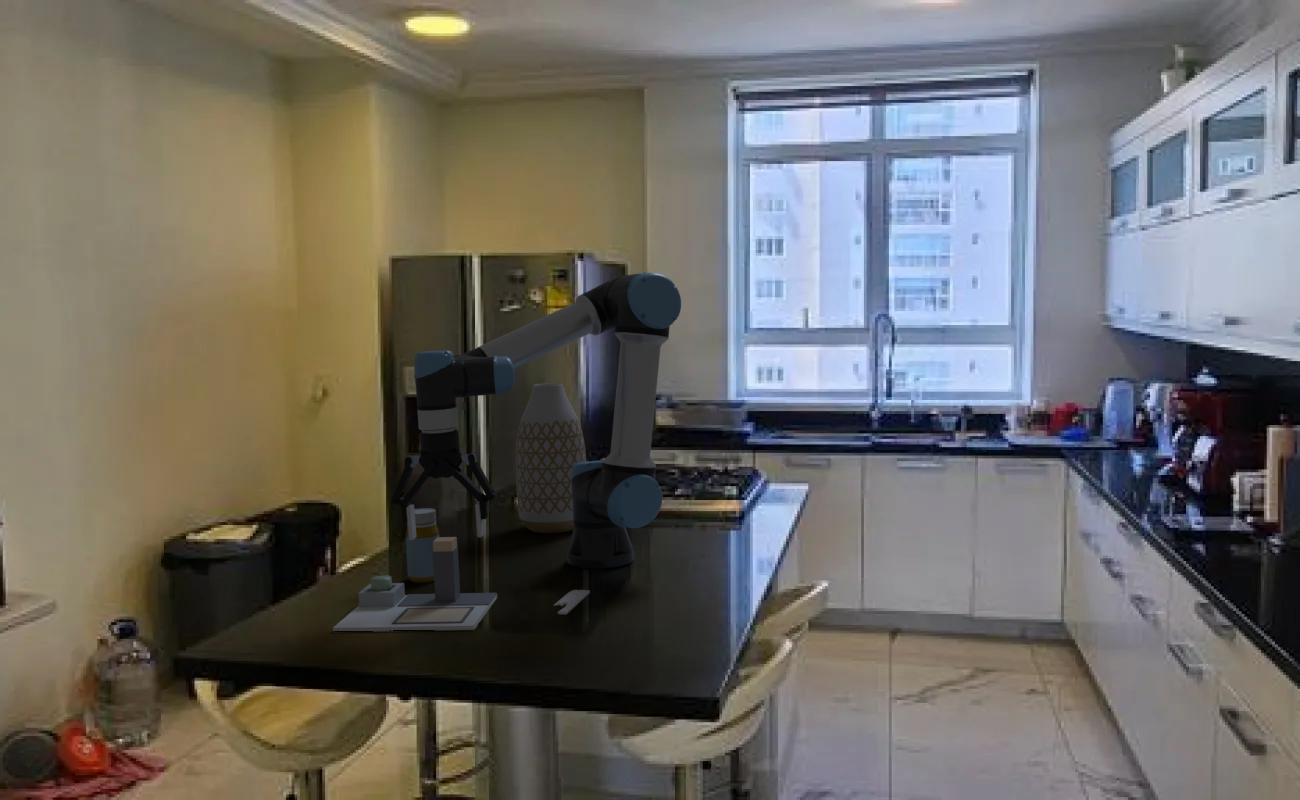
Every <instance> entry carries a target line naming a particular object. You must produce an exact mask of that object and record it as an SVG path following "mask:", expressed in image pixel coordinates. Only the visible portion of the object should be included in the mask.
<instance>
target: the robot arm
mask: <svg viewBox="0 0 1300 800" xmlns="http://www.w3.org/2000/svg"><path fill="white" fill-rule="evenodd" d="M681 298H682V297H681V294H680V291H679V289H678V287H677V286H676V285H675V283H674V281H673V280H671V279H670V278H669V277H667V276H665V275H663V274H661V273H656V272H655V273H654V272H641V273H635V274H634V273H633V274H624V275H623V274H621V275H617V276H616V277H612V278H611V279H608V280H607V281H605V282H603V283H601V284H600V285H598V286H596V287H593V288H592V289H590V290H588V291H586V292H583V293H582V294H579V295H578V296H577V297H576V299H575V302H573V303H571V304H569V305H567V306H565V307H562V308H560V309H559V310H555V311H553V312H552V313H549V314H547V315H545V316H543V317H541V318H539V319H536V320H534V321H532V322H530V323H527V324H526V325H523V326H520V327H518V328H516V329H515V330H513V331H510V332H508V333H506V334H504V335H502V336H499V337H497V338H495V339H492V340H491V341H490V340H489V341H488V342H486V343H484V344H482V345H479V346H478V347H475V348H474V349H471V350H469V351H467V352H464V353H462V354H453V352H452V351H451V350H448V349H447V350H445V349H444V350H429V351H420V352H417V353H416V354H415V356H414V363H413V364H414V365H413V366H414V368H413V369H414V372H413V373H414V375H413V378H414V383H415V392H416V393H415V394H416V402H417V403H416V404H417V421H418V430H420V431H421V432H420V433H419V434H418V435H419V448H420V456H414V455H413V454H410V455H408V456H406V457H405V458H404V468H403V471H402V473H401V476H400V478H399V481H398V483H397V486H396V488H395V490H394V492H393V495H392V498H391V499H390V500H391V501H390V502H391V504H393V505H398V506H400V508H401V518H402V519H401V520H402V522H403V524H404V523H406V524H407V523H408V526H407V527H408V535H409V540H413V539H414V538H416V524H415V511H414V509H415V504H411V502H412V501H413V499H414V498H415V497H416V496H417V494H418V493H419V491H420V490H421V489H422V487H423V486H424V484H426V482H427V481H428V479H429V478H430V477H431V478H432V479H439V478H443V479H449V478H451V477H453V478H454V479H455V480H457V481H458V482H459V483H460V484H461V485H462V486H463V487H464V489H466V490H467V492H468V493H469V494H470V495H471V496H472V497H473V498H474V499H475V500H476V501H477V502H476V503H475V504H474V507H475V518H476V519H475V522H476V536H477V538H482V537H483V536H484V535H485V527H484V526H485V525H484V520H487V519H488V517H489V510H488V502H489V501H492V500H494V499H495V498H496V496H497V493H496V492H495V490H494V488H493V486H492V484H491V483H490V481H489V479H488V478H487V476H486V474H485V472H484V471H483V469H482V467H481V466H480V464H479V461H478V460H479V459H478V455H477V453H476V452H475V451H474V452H471V453H469V454H467V453H466V454H462V453H461V450H460V449H461V446H460V434H459V433H460V432H459V431H458V430H457V429H456V428H458V427H459V422H458V420H459V418H458V405H457V398H458V399H459V398H461V399H462V398H467V397H479V396H490V395H491V396H492V395H496V396H498V395H499V394H507V393H510V392H511V391H512V390H513V389H514V386H515V383H516V372H515V369H518V368H520V367H521V366H524V365H526V364H528V363H530V362H533V361H534V360H537V359H539V358H540V357H543V356H545V355H547V354H550V353H551V352H554V351H555V350H559V349H560V348H562V347H564V346H567V345H569V344H571V343H573V342H575V341H576V340H579V339H581V338H583V337H585V336H587V335H589V334H590V335H592V336H598V335H600V334H602V333H605V332H608V331H611V330H612V331H613V330H614V335H615V337H616V338H617V339H618V340H619V342H620V345H619V347H620V348H619V349H620V350H619V356H618V357H619V358H618V367H617V369H618V371H617V380H616V388H615V389H616V391H615V398H614V399H615V401H614V411H613V420H612V421H613V423H612V434H611V443H610V452H609V454H608V455H607V456H605V458H604V459H602V460H601V459H600V460H592V461H591V460H589V461H586V462H581V463H576V464H574V465H573V467H572V475H571V481H572V501H573V521H574V529H573V530H572V534H571V537H570V540H569V541H570V542H569V545H568V547H567V553H566V556H567V557H566V560H567V561H566V562H567V564H568V565H570V566H571V567H574V568H581V569H595V570H597V569H611V568H617V567H623V566H626V565H628V564H630V563H633V562H634V561H635V555H634V554H635V552H634V547H633V545H632V542H631V540H630V537H629V534H628V530H627V528H628V529H638V528H642V527H645V526H646V525H648V524H650V523H651V522H652V520H654V519H655V518H656V517H657V515H658V514H659V512H661V511H660V510H661V508H662V504H663V499H664V498H663V496H664V495H663V491H662V487H661V486H660V484H659V482H658V481H657V480H656V473H657V464H655V462H654V461H653V460H652V458H651V450H652V440H653V431H654V421H655V420H654V419H655V410H656V409H655V407H656V398H657V388H658V387H657V385H658V378H659V377H658V376H659V369H660V368H659V367H660V356H661V355H660V354H661V348H662V345H663V344H664V343H666V342H667V341H668V340H669V337H670V328H671V325H673V324H674V322H675V321H676V320H678V318H679V316H680V313H681V308H682V299H681ZM463 462H464V463H465V464H466V465H467V466H469V468H470V470H471V472H472V473H473V476H474V477H475V479H476V480H477V482H478V484H479V486H480V487H481V489H482V490H481V489H480V488H479V487H478V485H476V483H474V482H473V480H471V478H470V477H469V476H468V475H467V474H466V473H465V471H464V470H463V469H462V468H461V467H460V466H461V464H462V463H463ZM418 464H419V465H420V466H421V467H422V469H423V471H422V473H421V474H420V475H419V476H418V478H417V480H416V482H414V484H413V485H412V487H410V489H409V490H408V492H407V493H406V495H405V496H404V497H403V495H404V493H405V491H406V488H407V485H408V483H409V481H410V478H411V476H412V473H413V470H414V468H415V467H417V465H418Z"/></svg>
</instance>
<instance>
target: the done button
mask: <svg viewBox="0 0 1300 800" xmlns="http://www.w3.org/2000/svg"><path fill="white" fill-rule="evenodd" d="M392 583H393V580H392V575H391V576H390V575H376V576H373V577H371V578H370V584H371V591H390V590H391V589H392Z"/></svg>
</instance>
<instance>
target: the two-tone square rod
mask: <svg viewBox="0 0 1300 800" xmlns="http://www.w3.org/2000/svg"><path fill="white" fill-rule="evenodd" d="M457 538H458V537H457V536H443V537H442V536H439V537H438V538H436V539H435V540H434V541H433V568H434V581H433V584H434V594H435V602H456V600H457V599H458V598H459V597H460V593H461V585H460V584H461V582H460V565H459V547H458V539H457Z"/></svg>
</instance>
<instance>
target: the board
mask: <svg viewBox="0 0 1300 800" xmlns="http://www.w3.org/2000/svg"><path fill="white" fill-rule="evenodd" d="M497 598H498V593H497V592H463V593H461V592H460V597H459V598H458V599H457V600H456V602H435V593H409V594H406V593H405V583H404V582H392V589H391V590H390V591H371V583H369V584H368V585H366V586H365V587H364V588H363V589H362V590H361V591H359V592H358V605H357V606H356V607H355V608H353V610H352V611H351V612H350V613H348V614H347V615H346V616H344V618H343V619H341V620H340V621H339V622H338V623H336V625H334V626H333V627H332V632H333V631H373V632H394V631H393V630H435V631H474V630H475V629H476V628H477V626H478V625H479V624H480V623H481V621H482V619H483V618H484V616H485V615H486V613H488V611H489V610H490V608H492V605H493V604H494V603H495V601H496V600H497ZM390 630H391V631H390Z"/></svg>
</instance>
